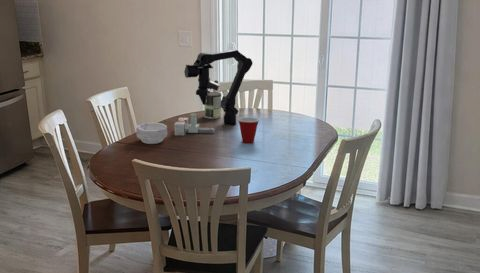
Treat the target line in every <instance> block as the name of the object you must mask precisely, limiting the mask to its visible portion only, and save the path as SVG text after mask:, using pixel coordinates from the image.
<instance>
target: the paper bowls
mask: <svg viewBox="0 0 480 273" xmlns="http://www.w3.org/2000/svg"><path fill="white" fill-rule="evenodd" d="M135 129H136V130H135V134H136V138H138V139H140V140H141V142H142V143H144V144H146V145H147V144H148V145H155V144H159V143H162V142H163V140H164V139H165V138H167V136H168V126H167V125H166V124H164V123H161V122H146V123H140V124H138V125H136V127H135Z"/></svg>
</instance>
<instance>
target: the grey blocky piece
mask: <svg viewBox="0 0 480 273" xmlns="http://www.w3.org/2000/svg"><path fill="white" fill-rule="evenodd" d="M179 120H185V122H178V121H179ZM189 125H190V123H189V117H178V119H177V121H176V122H174V136H185V135H186V134H187V128H188V126H189Z"/></svg>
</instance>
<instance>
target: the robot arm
mask: <svg viewBox="0 0 480 273" xmlns="http://www.w3.org/2000/svg"><path fill="white" fill-rule="evenodd" d="M232 58H233V59H234V60H235V61H236V62H237V66H236V67H237V69H236V70H237V71H236V73H235V76H234V78H233V80H232V83H231V85H230V88H229V90H228V93H227V95H226V96H225V95H223V96H221V110H223V112H224V115H223V123H224V125H226V126H227V125H228V126H229V125H230V126H236V124H237V121H238V120H237V115H238V113H239V110H238V109H237V108H236V107H235V105H236V97H237V94H239V93H238V92H239V89H240V87H241V85H242V83H243V80H244V77H245V76H246V74H247V73H248V72H249V71H250V70H251V68H252V66H253V64H254V63H253V60H252V58H250V57H247V56H245V55H244V54H242V53H241V52H240V51H239V50H237V49H231V50H225V51H218V52H214V53H212V52H210V53H209V52H200V53H198V55H197V56H196V60H195V61H194V62H193V64H185V68H184V70H183V71H184V72H183V74H184V77H185V78H187V79H189V78H190V79H191V78H197V77H198V78H197V81H198V88H197V89H196V91H195V95H196V96H199V99H200V101H201V103H202V105H204V106H205V103H206V98H207V95H208V94H209V93H210V92H211V91H210V90H214V92H218V90H219V88H220V83H219V81H218V80H214V81H213V80H211V78H210V69H213V68H214V67H213V65H211V64H212V63H214V62H216V61H221V60H226V59H232Z"/></svg>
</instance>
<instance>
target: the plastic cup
mask: <svg viewBox="0 0 480 273" xmlns="http://www.w3.org/2000/svg"><path fill="white" fill-rule="evenodd" d="M237 121H238V124H239V128H240V135H241V141H242V143H244V144H253V143H254V141H255V139H256V138H255V137H256V133H257V128H258V125H259V122H260V118H256V117H255V118H254V117H239V118H237Z"/></svg>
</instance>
